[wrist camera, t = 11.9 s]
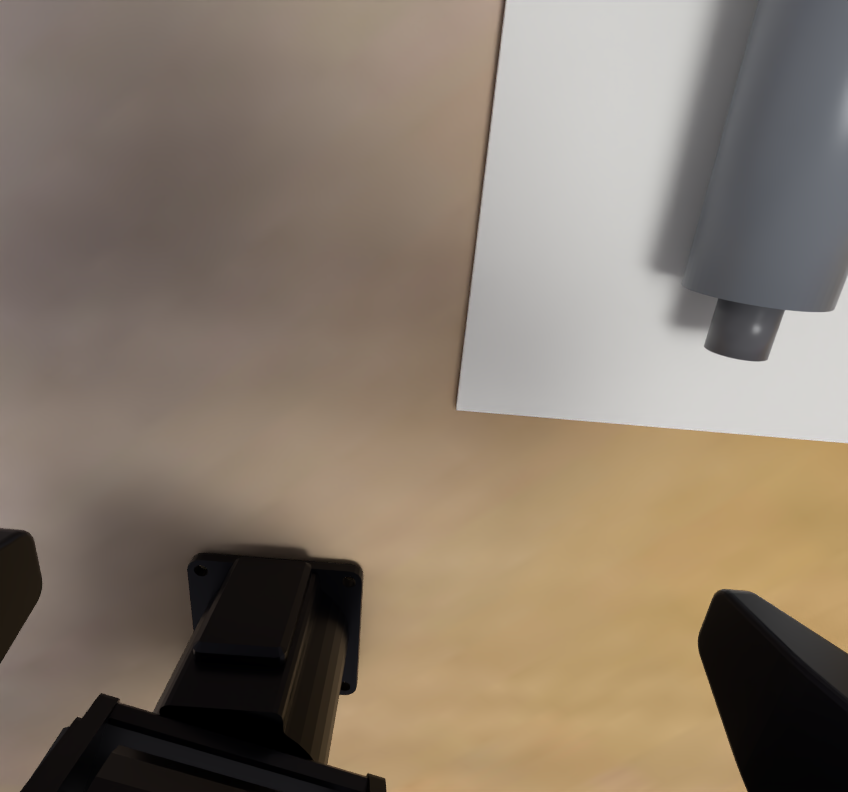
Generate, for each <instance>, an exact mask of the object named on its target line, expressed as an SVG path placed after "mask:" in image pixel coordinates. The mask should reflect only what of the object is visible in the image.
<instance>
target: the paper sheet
mask: <svg viewBox="0 0 848 792" xmlns="http://www.w3.org/2000/svg"><path fill="white" fill-rule="evenodd" d="M757 3H758V0H506V1H505V9H504V17H503V25H502V34H501V42H500V50H499V58H498V66H497V75H496V83H495V91H494V99H493V107H492V116H491V124H490V132H489V140H488V148H487V157H486V165H485V173H484V181H483V189H482V198H481V206H480V214H479V222H478V230H477V239H476V247H475V255H474V263H473V271H472V280H471V288H470V296H469V304H468V312H467V321H466V329H465V337H464V345H463V353H462V362H461V370H460V378H459V386H458V394H457V403H456V410H461V411H473V412H484V413H496V414H508V415H520V416H532V417H544V418H556V419H567V420H579V421H591V422H603V423H615V424H627V425H638V426H650V427H662V428H674V429H686V430H698V431H710V432H721V433H733V434H745V435H757V436H769V437H781V438H793V439H804V440H816V441H828V442H840V443H848V276H847V279H846V281H845V284H844V286H843V289H842V291H841V294H840V297H839V299H838V302H837V304H836V307H835V309H834V310H833V311H830V312H801V311H790V310H785V312H784V315H783V318H782V320H781V323H780V326H779V329H778V332H777V334H776V337H775V340H774V343H773V346H772V349H771V351H770V354H769V357H768V360H766V361H760V362H756V361H745V360H739V359H734V358H729V357H725V356H722V355H719V354H716V353H713V352H711V351H709V350H707V349H706V348H705V347H704V344H705V340H706V337H707V334H708V330H709V327H710V324H711V320H712V317H713V314H714V310H715V307H716V304H717V300H718V298H715V297H711V296H707V295H704V294H700V293H697V292H694V291H691V290H689V289H687V288H685V287H683V286H682V285H681V283H682V279H683V276H684V272H685V268H686V265H687V261H688V257H689V254H690V250H691V246H692V243H693V239H694V235H695V232H696V228H697V224H698V220H699V217H700V213H701V209H702V206H703V202H704V198H705V195H706V191H707V187H708V184H709V180H710V176H711V173H712V169H713V165H714V162H715V158H716V154H717V151H718V147H719V143H720V140H721V136H722V132H723V129H724V125H725V121H726V118H727V114H728V110H729V106H730V103H731V99H732V95H733V92H734V88H735V84H736V81H737V77H738V73H739V70H740V66H741V62H742V59H743V55H744V51H745V48H746V44H747V40H748V37H749V33H750V29H751V26H752V22H753V18H754V15H755V11H756V7H757Z"/></svg>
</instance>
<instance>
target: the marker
mask: <svg viewBox="0 0 848 792" xmlns="http://www.w3.org/2000/svg"><path fill="white" fill-rule="evenodd" d="M847 276H848V0H758V3H757V7H756V11H755V15H754V18H753V22H752V26H751V29H750V33H749V37H748V40H747V44H746V48H745V51H744V55H743V59H742V62H741V66H740V70H739V73H738V77H737V81H736V84H735V88H734V92H733V95H732V99H731V103H730V106H729V110H728V114H727V118H726V121H725V125H724V129H723V132H722V136H721V140H720V143H719V147H718V151H717V154H716V158H715V162H714V165H713V169H712V173H711V176H710V180H709V184H708V187H707V191H706V195H705V198H704V202H703V206H702V209H701V213H700V217H699V220H698V224H697V228H696V232H695V235H694V239H693V243H692V246H691V250H690V254H689V257H688V261H687V265H686V268H685V272H684V276H683V279H682V283H681V285H682V286H683V287H685V288H687V289H689V290H691V291H694V292H697V293H700V294H704V295H707V296H711V297H715V298H718V300H717V304H716V307H715V310H714V314H713V317H712V320H711V324H710V327H709V330H708V334H707V337H706V340H705V344H704V347H705V348H706V349H707V350H709V351H711V352H713V353H716V354H719V355H722V356H725V357H729V358H734V359H739V360H745V361H756V362H760V361H766V360H768V357H769V354H770V351H771V349H772V346H773V343H774V340H775V337H776V334H777V332H778V329H779V326H780V323H781V320H782V318H783V315H784V312H785V310H790V311H801V312H830V311H833V310H834V309H835V307H836V304H837V302H838V299H839V297H840V294H841V291H842V289H843V286H844V284H845V281H846V279H847Z"/></svg>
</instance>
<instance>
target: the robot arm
mask: <svg viewBox="0 0 848 792" xmlns="http://www.w3.org/2000/svg"><path fill="white" fill-rule="evenodd" d="M199 565H201V566H204V567H206V568H207V569H203V568H201V567H200V566H199ZM187 571H188V581H189V590H190V600H191V610H192V619H193V629H194V632H193V634H192V636H191V638H190V640H189V642H188V644H187V646H186V648H185V650H184V652H183V654H182V656H181V658H180V660H179V662H178V664H177V666H176V668H175V670H174V672H173V674H172V676H171V678H170V679H169V681H168V683H167V685H166V687H165V689H164V691H163V693H162V695H161V697H160V699H159V701H158V703H157V705H156V707H155V709H154V711H153V713H152V712H149V711H146V710H142V709H139V708H136V707H132V706H129V705H126V704H122V703H119V701H120V699H119V698H115V697H112V696H109V695H105V694H102V693H101V694H100V695H99V696H98V697H97V699H96V700H95V701H94V703H93V704H92V706H91V707H90V708H89V710H88V711H87V712H86V714H85V715H84V716H83V718H79V717H77V718H76V719H75V720H74V721H73V723H72V724H71V725H70V727H66V728H63V730H62V731H61V733H60V734H59V736H58V737H57V739H56V740H55V742H54V743H53V745H52V746H51V748H50V749H49V751H48V752H47V754H46V756H45V757H44V759H43V760H42V762H41V763H40V765H39V766H38V768H37V769H36V771H35V772H34V773H33V775H32V776H31V778H30V779H29V781H28V782H27V783H26V785H25V786H24V787H23V789H22V790H21V791H20V792H386V781H385V778H382V777H379V776H375V775H372V774H369V773H368V774H367V775H366V776H363V775H360V774H356V773H353V772H350V771H346V770H343V769H340V768H336V767H333V766H330V765H327V763H328V757H329V751H330V746H331V740H332V734H333V728H334V722H335V716H336V711H337V705H338V699H339V695H349V694H351V693H353V692H354V691H355V690H356V687H357V680H358V663H359V646H360V628H361V610H362V593H363V571H362V570H361V569H360V568H359V567H358V566H356V565H352V564H342V563H328V562H315V561H302V560H289V559H276V558H263V557H250V556H237V555H224V554H211V553H199V554H197V555H195V556H194V557H193V559H192V560H191V562H190V563H189V565H188V569H187ZM345 577H352V578H354V580H348V579H346V578H345ZM41 590H42V576H41V571H40V566H39V561H38V557H37V552H36V547H35V542H34V539H33V537H32V535H31V534H30V533H29V532H27V531H24V530H16V529H4V528H0V663H1V661H2V660H3V658H4V656H5V655H6V653H7V651H8V650H9V648H10V646H11V645H12V643H13V641H14V640H15V638H16V636H17V635H18V633H19V631H20V630H21V628H22V627H23V625H24V623H25V622H26V620H27V618H28V617H29V615H30V613H31V612H32V610H33V608H34V607H35V605H36V603H37V601H38V599H39V597H40V594H41ZM698 649H699V654H700V657H701V660H702V663H703V666H704V669H705V672H706V675H707V678H708V681H709V684H710V687H711V690H712V693H713V696H714V699H715V702H716V705H717V708H718V711H719V714H720V717H721V720H722V723H723V726H724V729H725V732H726V735H727V738H728V741H729V743H730V746H731V749H732V752H733V755H734V758H735V761H736V763H737V766H738V769H739V772H740V774H741V777H742V779H743V782H744V784H745V786H746V789H747V791H748V792H848V654H847V653H846V652H844V651H843V650H841V649H840V648H838V647H837V646H835V645H833V644H832V643H830V642H829V641H827V640H826V639H824V638H823V637H821V636H820V635H818V634H817V633H815V632H813V631H812V630H810V629H809V628H807V627H806V626H804V625H803V624H801V623H800V622H798V621H796V620H795V619H793V618H792V617H790V616H789V615H787V614H786V613H784V612H783V611H781V610H779V609H778V608H776V607H775V606H773V605H772V604H770V603H769V602H767V601H766V600H764V599H762V598H761V597H759V596H758V595H756V594H754V593H752V592H749V591H743V590H731V589H722V590H719V591H717V592H716V593H715V594H714V596H713V598H712V601H711V603H710V606H709V609H708V611H707V614H706V616H705V619H704V622H703V624H702V627H701V629H700V632H699V636H698Z"/></svg>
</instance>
